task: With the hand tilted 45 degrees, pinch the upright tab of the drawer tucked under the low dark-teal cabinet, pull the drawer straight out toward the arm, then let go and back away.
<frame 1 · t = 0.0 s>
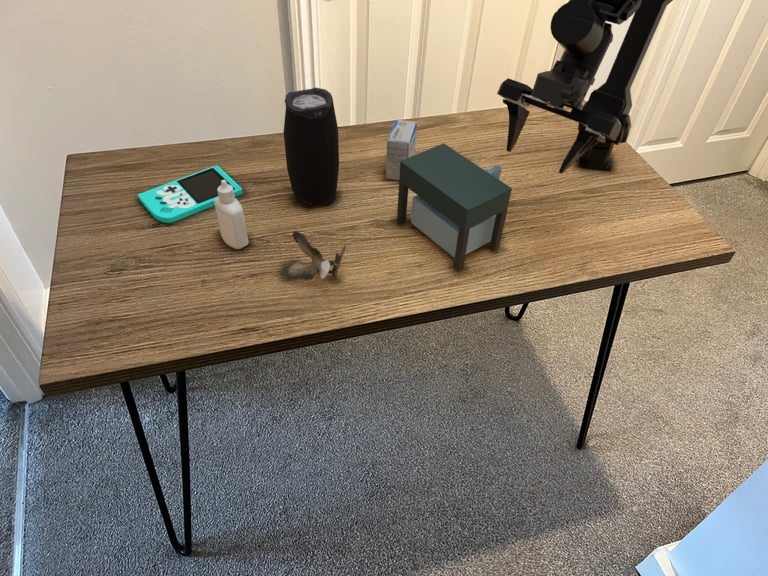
hand: (533, 162, 93), 15 cm above the table, tool tilted 35°, fingers open, 9 cm apart
cabinet: (446, 234, 104), on the table
eye dropper bottle: (235, 241, 101), on the table
handheld game console: (191, 197, 109), on the table
drawer: (466, 203, 102), point 5 cm above the table, slide at 0.0 cm
medicine box: (400, 170, 117), on the table
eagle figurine: (313, 273, 96), on the table
portable speaker: (315, 196, 110), on the table
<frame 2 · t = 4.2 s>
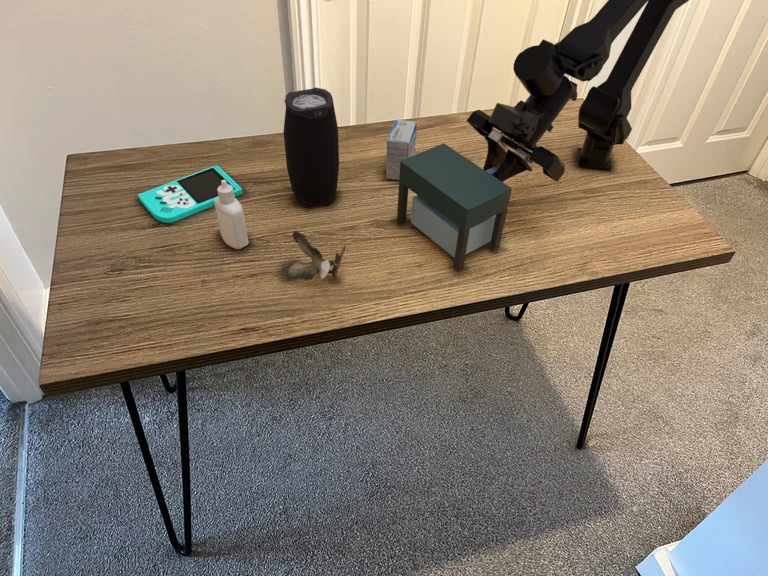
hand: (483, 186, 102), 7 cm above the table, tool tilted 45°, fingers closed on drawer
drawer: (466, 203, 102), point 5 cm above the table, slide at 0.0 cm, touching gripper
everything else where it was.
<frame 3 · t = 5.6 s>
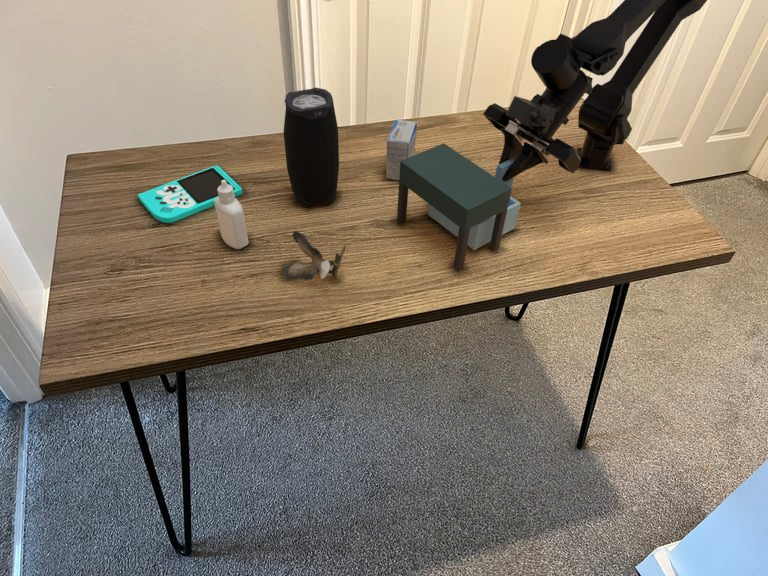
hand: (500, 178, 104), 7 cm above the table, tool tilted 45°, fingers closed on drawer
drawer: (483, 195, 104), point 5 cm above the table, slide at 4.0 cm, touching gripper
everything else where it was.
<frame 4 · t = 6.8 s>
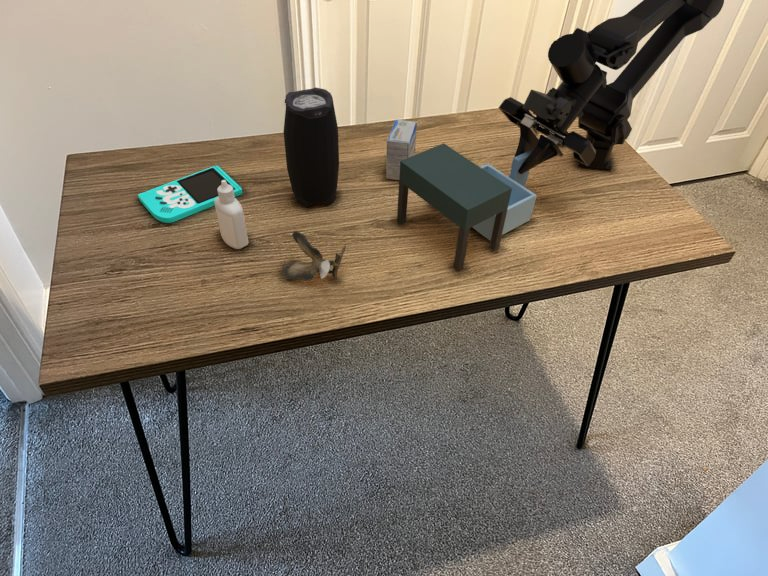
hand: (515, 171, 106), 7 cm above the table, tool tilted 45°, fingers closed on drawer
drawer: (499, 187, 105), point 5 cm above the table, slide at 8.0 cm, touching gripper
everything else where it was.
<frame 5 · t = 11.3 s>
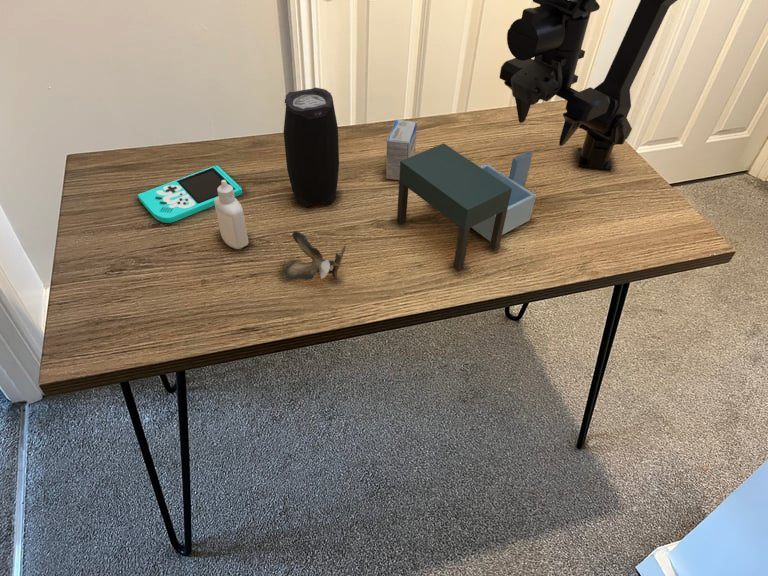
hand: (541, 133, 103), 13 cm above the table, tool pointing down, fingers open, 9 cm apart
drawer: (498, 187, 105), point 5 cm above the table, slide at 7.8 cm
everything else where it was.
at the end: drawer slide at 7.8 cm; the gripper is holding nothing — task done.
